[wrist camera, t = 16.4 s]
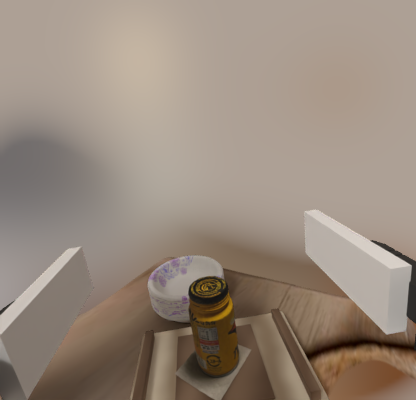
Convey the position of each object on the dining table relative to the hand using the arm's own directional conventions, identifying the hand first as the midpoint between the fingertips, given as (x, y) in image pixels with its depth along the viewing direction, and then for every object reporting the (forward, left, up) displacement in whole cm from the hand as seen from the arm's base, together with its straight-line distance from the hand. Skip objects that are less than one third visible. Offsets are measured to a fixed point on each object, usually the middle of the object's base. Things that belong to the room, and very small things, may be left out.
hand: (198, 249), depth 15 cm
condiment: (-1, +15, -25) cm, 29 cm away
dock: (0, +15, -28) cm, 32 cm away
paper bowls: (-4, +32, -28) cm, 43 cm away
